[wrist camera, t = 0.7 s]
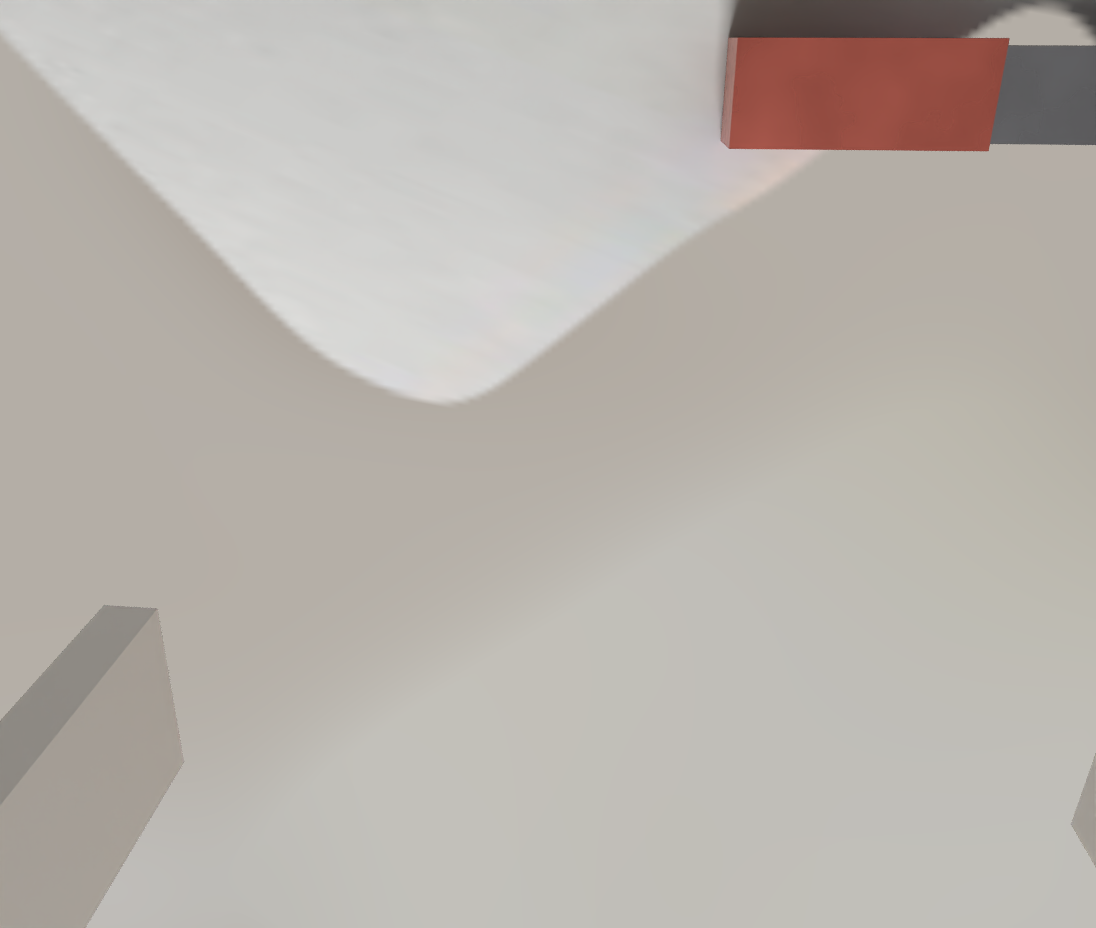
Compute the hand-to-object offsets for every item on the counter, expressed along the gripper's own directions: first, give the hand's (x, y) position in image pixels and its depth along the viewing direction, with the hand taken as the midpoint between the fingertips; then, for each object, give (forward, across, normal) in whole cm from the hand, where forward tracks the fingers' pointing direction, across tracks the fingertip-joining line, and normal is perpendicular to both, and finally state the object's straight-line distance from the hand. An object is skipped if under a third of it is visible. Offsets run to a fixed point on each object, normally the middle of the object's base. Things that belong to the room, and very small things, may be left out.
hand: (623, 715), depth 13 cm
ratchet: (+24, +13, +7) cm, 28 cm away
